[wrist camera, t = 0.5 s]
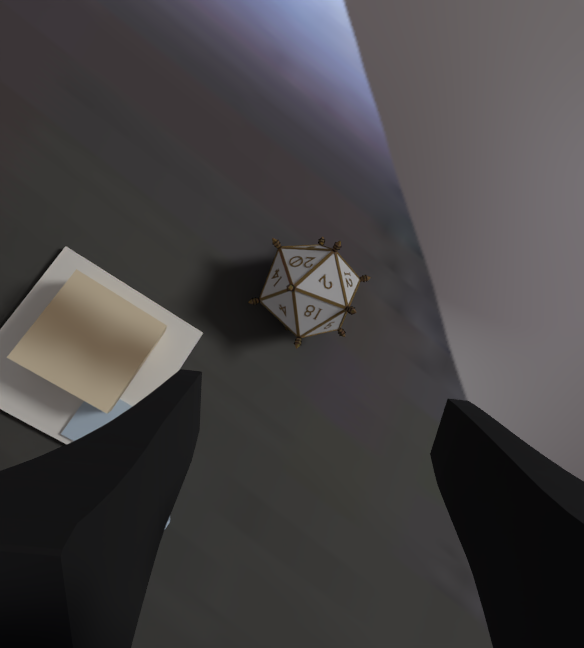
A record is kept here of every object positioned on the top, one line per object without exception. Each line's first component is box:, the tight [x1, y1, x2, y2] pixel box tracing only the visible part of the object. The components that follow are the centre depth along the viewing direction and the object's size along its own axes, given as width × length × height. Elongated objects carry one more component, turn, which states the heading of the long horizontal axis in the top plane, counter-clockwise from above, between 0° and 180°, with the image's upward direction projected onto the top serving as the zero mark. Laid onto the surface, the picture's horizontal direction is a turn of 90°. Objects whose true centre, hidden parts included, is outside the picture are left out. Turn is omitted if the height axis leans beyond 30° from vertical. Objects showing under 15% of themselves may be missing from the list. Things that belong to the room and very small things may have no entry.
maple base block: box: [7, 269, 167, 413], centre depth 30 cm, size 7×7×4 cm
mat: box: [0, 247, 203, 444], centre depth 32 cm, size 12×12×1 cm
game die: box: [248, 237, 371, 349], centre depth 34 cm, size 9×8×10 cm
